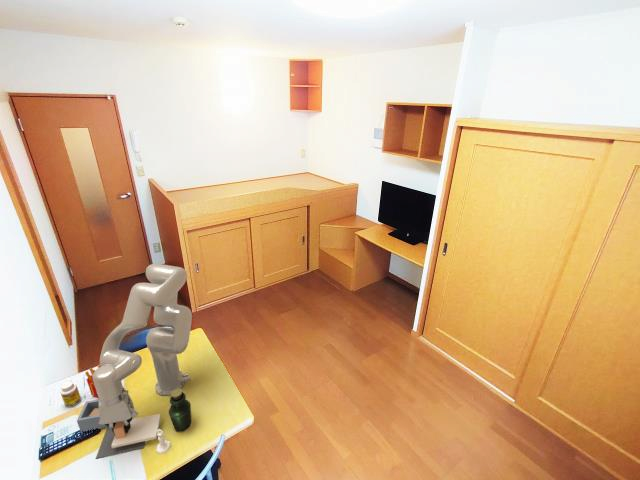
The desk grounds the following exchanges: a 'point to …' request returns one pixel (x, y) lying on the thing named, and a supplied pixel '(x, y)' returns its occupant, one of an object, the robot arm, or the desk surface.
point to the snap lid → (136, 431)
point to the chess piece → (162, 443)
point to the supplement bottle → (70, 394)
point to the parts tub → (90, 417)
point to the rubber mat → (109, 451)
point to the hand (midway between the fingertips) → (122, 430)
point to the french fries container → (91, 382)
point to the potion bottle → (180, 411)
